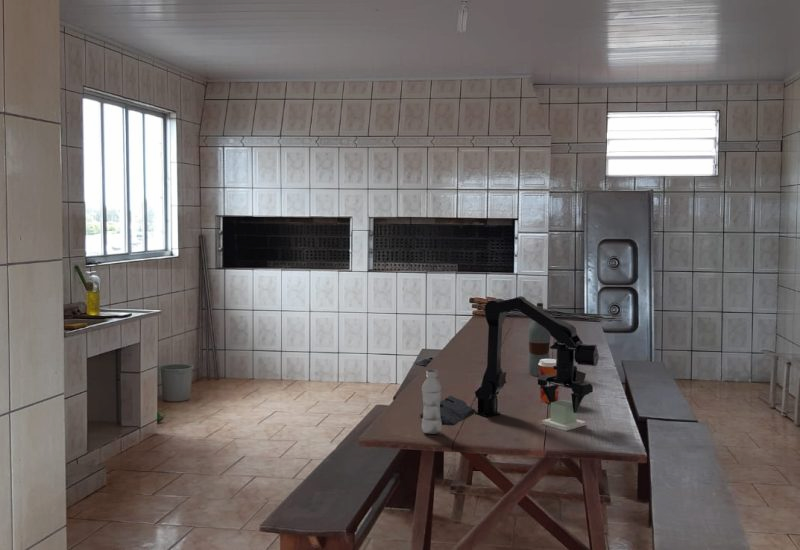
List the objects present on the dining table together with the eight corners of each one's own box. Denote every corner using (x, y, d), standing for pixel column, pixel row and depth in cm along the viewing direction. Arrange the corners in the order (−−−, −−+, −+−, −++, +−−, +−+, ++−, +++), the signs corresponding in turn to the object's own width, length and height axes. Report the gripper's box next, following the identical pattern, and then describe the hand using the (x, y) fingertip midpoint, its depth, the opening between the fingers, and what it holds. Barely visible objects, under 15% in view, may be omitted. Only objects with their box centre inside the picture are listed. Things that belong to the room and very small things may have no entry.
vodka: (553, 373, 343) (554, 302, 340) (545, 377, 336) (546, 305, 333) (532, 370, 348) (533, 301, 345) (523, 374, 341) (525, 303, 338)
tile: (565, 430, 261) (565, 427, 260) (541, 423, 268) (541, 420, 268) (585, 425, 267) (585, 421, 267) (561, 418, 275) (561, 415, 274)
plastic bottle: (440, 430, 261) (441, 368, 259) (442, 436, 254) (443, 373, 252) (420, 430, 261) (421, 368, 259) (422, 436, 254) (422, 373, 252)
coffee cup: (543, 404, 293) (544, 363, 291) (533, 399, 301) (534, 359, 299) (564, 403, 295) (565, 362, 294) (554, 397, 303) (555, 357, 301)
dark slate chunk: (412, 421, 273) (412, 407, 272) (438, 406, 292) (438, 393, 292) (454, 427, 266) (454, 413, 265) (478, 411, 285) (478, 398, 285)
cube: (564, 424, 263) (565, 406, 263) (550, 420, 268) (550, 402, 267) (576, 421, 267) (577, 403, 266) (562, 417, 272) (562, 399, 271)
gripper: (604, 364, 263) (602, 411, 265) (558, 355, 278) (557, 400, 279) (582, 369, 256) (581, 417, 258) (536, 359, 271) (536, 405, 272)
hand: (564, 409), depth 267 cm, fingers open, 9 cm apart
